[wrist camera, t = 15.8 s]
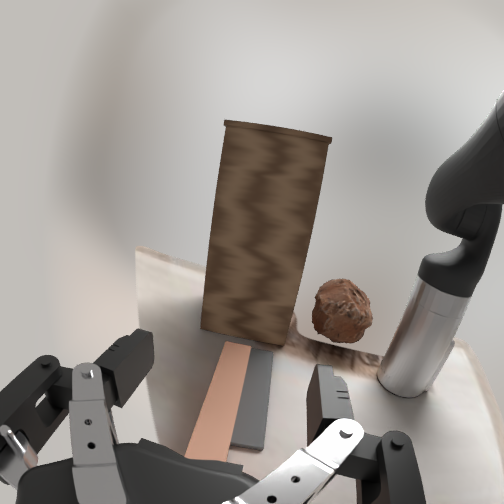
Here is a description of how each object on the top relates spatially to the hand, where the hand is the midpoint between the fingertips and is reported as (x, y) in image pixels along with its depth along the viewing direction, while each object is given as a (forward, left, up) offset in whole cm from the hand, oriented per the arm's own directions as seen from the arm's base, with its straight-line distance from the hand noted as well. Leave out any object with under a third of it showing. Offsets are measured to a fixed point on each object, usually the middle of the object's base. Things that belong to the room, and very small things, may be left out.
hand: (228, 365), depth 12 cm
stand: (+1, -35, -18) cm, 39 cm away
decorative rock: (-16, -35, -18) cm, 42 cm away
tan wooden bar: (+1, -9, -17) cm, 19 cm away
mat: (-1, -16, -18) cm, 24 cm away
